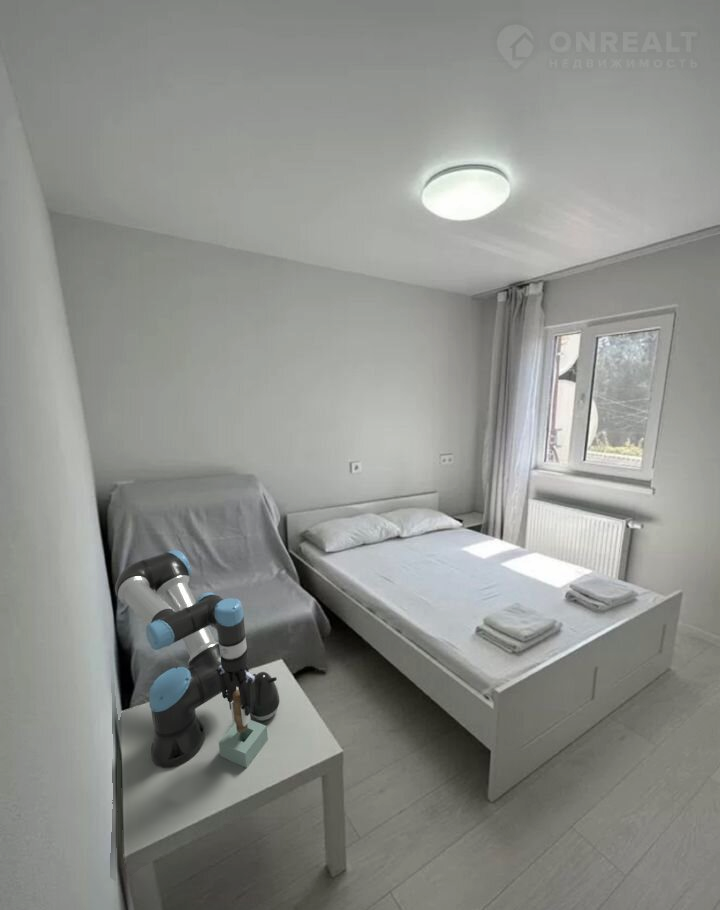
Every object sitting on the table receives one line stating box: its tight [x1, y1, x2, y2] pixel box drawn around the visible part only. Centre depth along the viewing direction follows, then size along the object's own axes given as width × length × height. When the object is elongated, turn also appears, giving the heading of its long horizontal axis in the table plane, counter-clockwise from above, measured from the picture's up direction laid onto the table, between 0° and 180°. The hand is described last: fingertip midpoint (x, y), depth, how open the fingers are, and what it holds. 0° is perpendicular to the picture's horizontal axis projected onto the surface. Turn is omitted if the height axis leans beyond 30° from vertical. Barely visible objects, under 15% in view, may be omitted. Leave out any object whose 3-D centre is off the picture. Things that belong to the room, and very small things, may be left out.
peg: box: [233, 689, 248, 733], centre depth 119 cm, size 3×3×12 cm
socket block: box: [218, 719, 269, 769], centre depth 122 cm, size 10×10×5 cm
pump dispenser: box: [250, 671, 281, 721], centre depth 133 cm, size 10×10×15 cm
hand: (241, 720), depth 120 cm, fingers closed on peg, 3 cm apart
